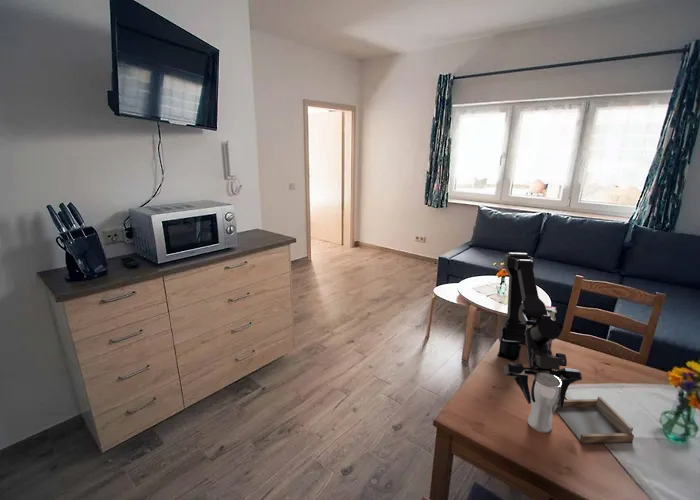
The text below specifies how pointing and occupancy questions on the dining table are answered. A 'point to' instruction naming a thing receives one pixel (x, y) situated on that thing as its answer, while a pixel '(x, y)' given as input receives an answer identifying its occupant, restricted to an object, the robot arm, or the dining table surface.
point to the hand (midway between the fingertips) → (545, 405)
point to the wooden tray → (595, 421)
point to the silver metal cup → (544, 401)
